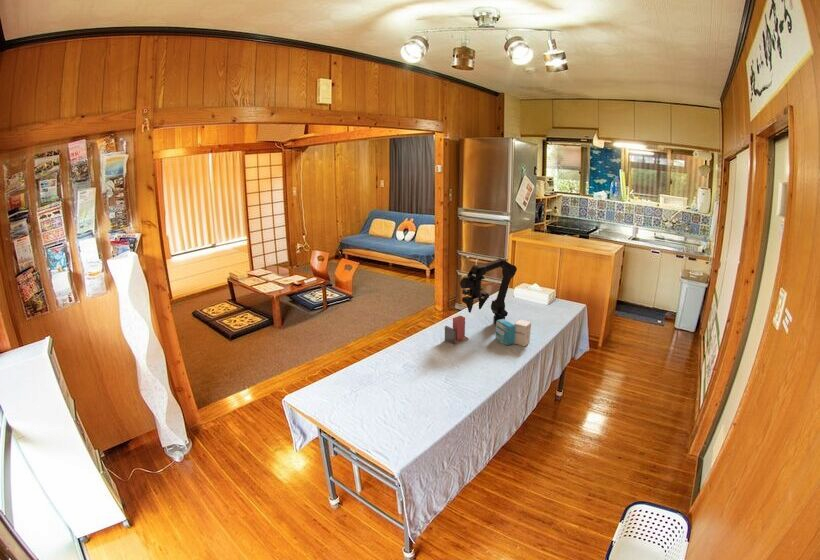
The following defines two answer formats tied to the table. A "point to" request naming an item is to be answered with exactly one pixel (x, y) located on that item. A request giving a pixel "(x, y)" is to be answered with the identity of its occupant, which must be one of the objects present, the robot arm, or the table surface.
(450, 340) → the metal bookend
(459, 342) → the tan flat rectangular slab
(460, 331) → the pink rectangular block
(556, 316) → the table surface
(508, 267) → the robot arm
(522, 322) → the supplement box
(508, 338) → the data package
